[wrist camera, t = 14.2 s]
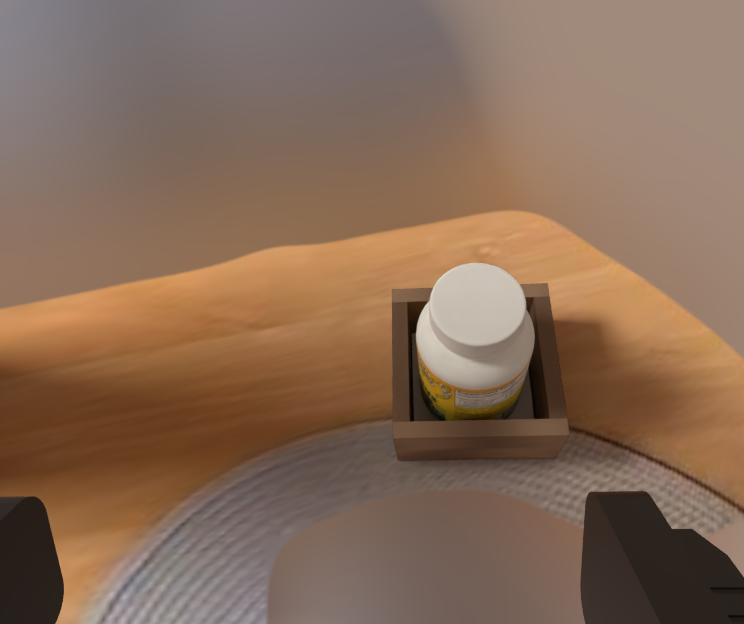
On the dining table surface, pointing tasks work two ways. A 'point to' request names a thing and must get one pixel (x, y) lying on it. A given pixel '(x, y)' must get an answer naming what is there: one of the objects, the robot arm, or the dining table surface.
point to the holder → (479, 436)
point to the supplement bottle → (474, 344)
